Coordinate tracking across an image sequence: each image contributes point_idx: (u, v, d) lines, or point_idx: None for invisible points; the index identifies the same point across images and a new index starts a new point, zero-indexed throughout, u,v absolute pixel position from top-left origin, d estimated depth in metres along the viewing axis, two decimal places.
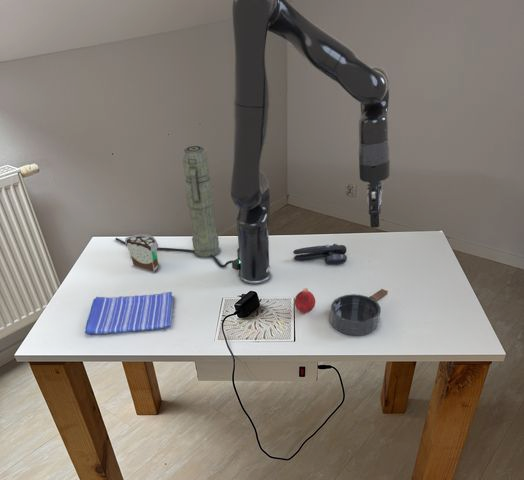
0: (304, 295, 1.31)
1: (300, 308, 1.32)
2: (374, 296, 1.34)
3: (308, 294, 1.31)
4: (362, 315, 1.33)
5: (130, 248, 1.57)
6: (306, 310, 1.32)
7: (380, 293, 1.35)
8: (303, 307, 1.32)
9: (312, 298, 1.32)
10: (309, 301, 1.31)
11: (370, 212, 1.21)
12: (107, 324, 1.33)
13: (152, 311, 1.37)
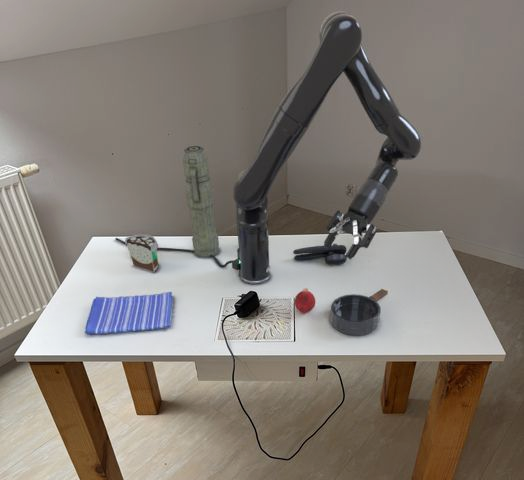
0: (304, 295, 1.31)
1: (300, 308, 1.32)
2: (374, 296, 1.34)
3: (308, 294, 1.31)
4: (362, 315, 1.33)
5: (130, 248, 1.57)
6: (306, 310, 1.32)
7: (380, 293, 1.35)
8: (303, 307, 1.32)
9: (312, 298, 1.32)
10: (309, 301, 1.31)
11: (365, 243, 1.26)
12: (107, 324, 1.33)
13: (152, 311, 1.37)
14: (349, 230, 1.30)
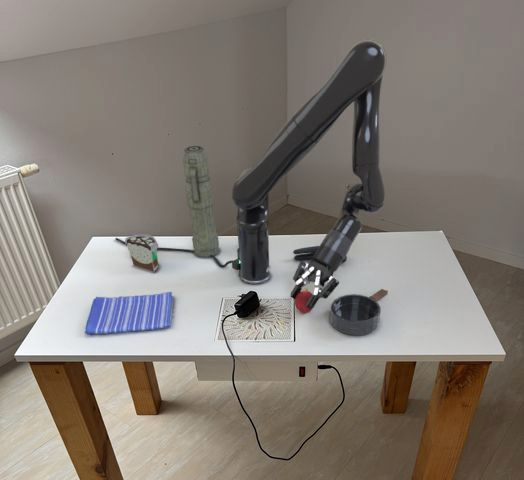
0: (304, 295, 1.31)
1: (300, 308, 1.32)
2: (374, 296, 1.34)
3: (308, 294, 1.31)
4: (362, 315, 1.33)
5: (130, 248, 1.57)
6: (306, 310, 1.32)
7: (380, 293, 1.35)
8: (303, 307, 1.32)
9: None
10: None
11: (323, 294, 1.28)
12: (107, 324, 1.33)
13: (152, 311, 1.37)
14: (313, 279, 1.31)
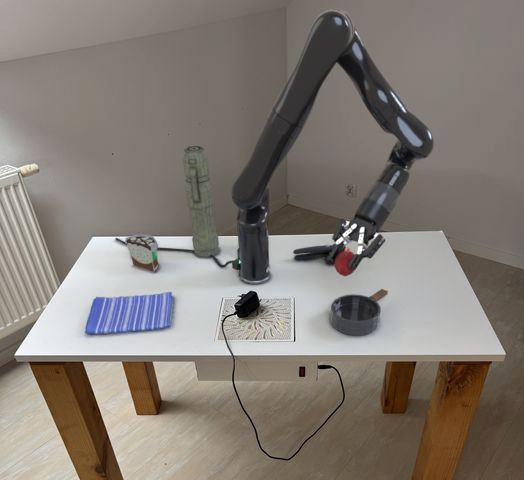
0: (346, 255, 1.19)
1: (341, 270, 1.20)
2: (374, 296, 1.34)
3: (350, 254, 1.19)
4: (362, 315, 1.33)
5: (130, 248, 1.57)
6: (348, 272, 1.20)
7: (380, 293, 1.35)
8: (345, 268, 1.20)
9: None
10: None
11: (368, 253, 1.16)
12: (107, 324, 1.33)
13: (152, 311, 1.37)
14: (356, 238, 1.19)
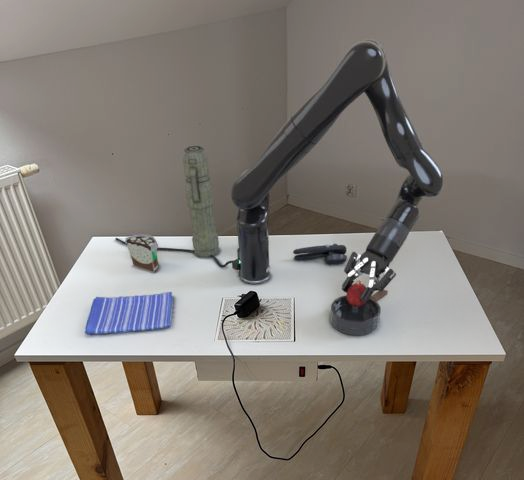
0: (358, 288, 1.23)
1: (353, 302, 1.25)
2: (374, 296, 1.34)
3: (362, 287, 1.24)
4: (362, 315, 1.33)
5: (130, 248, 1.57)
6: (359, 304, 1.25)
7: (380, 293, 1.35)
8: (356, 300, 1.24)
9: None
10: None
11: (379, 287, 1.20)
12: (107, 324, 1.33)
13: (152, 311, 1.37)
14: (367, 271, 1.23)
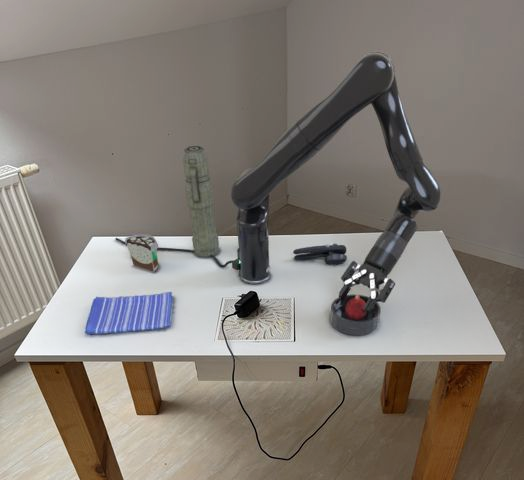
0: (357, 303, 1.26)
1: (352, 316, 1.28)
2: None
3: (360, 301, 1.27)
4: None
5: (130, 248, 1.57)
6: (358, 318, 1.28)
7: None
8: (355, 315, 1.27)
9: None
10: (361, 308, 1.26)
11: (382, 298, 1.21)
12: (107, 324, 1.33)
13: (152, 311, 1.37)
14: (365, 283, 1.25)
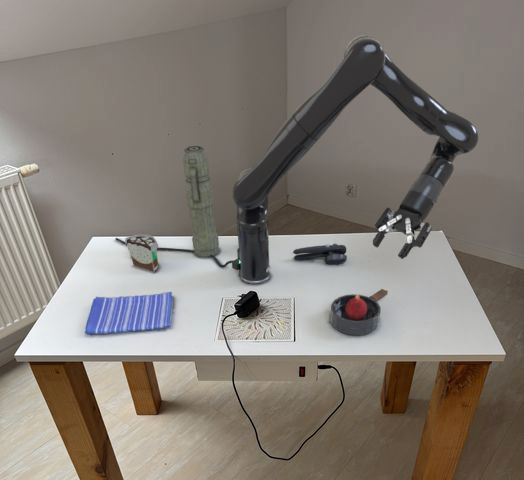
0: (357, 303, 1.26)
1: (352, 316, 1.28)
2: (374, 296, 1.34)
3: (360, 301, 1.27)
4: None
5: (130, 248, 1.57)
6: (358, 318, 1.28)
7: (380, 293, 1.35)
8: (355, 315, 1.27)
9: (365, 306, 1.27)
10: (361, 308, 1.26)
11: (419, 242, 1.20)
12: (107, 324, 1.33)
13: (152, 311, 1.37)
14: (401, 228, 1.24)
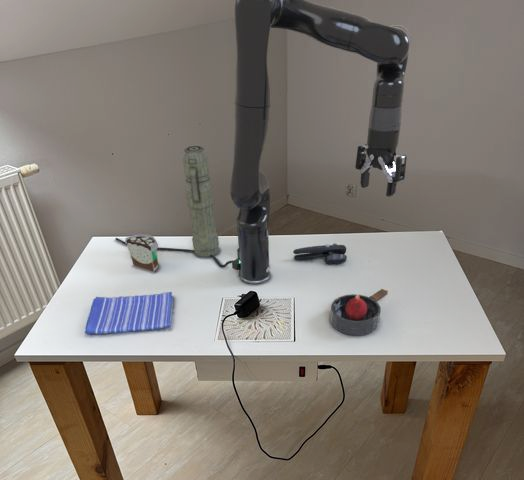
0: (357, 303, 1.26)
1: (352, 316, 1.28)
2: (374, 296, 1.34)
3: (360, 301, 1.27)
4: None
5: (130, 248, 1.57)
6: (358, 318, 1.28)
7: (380, 293, 1.35)
8: (355, 315, 1.27)
9: (365, 306, 1.27)
10: (361, 308, 1.26)
11: (399, 179, 1.17)
12: (107, 324, 1.33)
13: (152, 311, 1.37)
14: (378, 167, 1.21)
